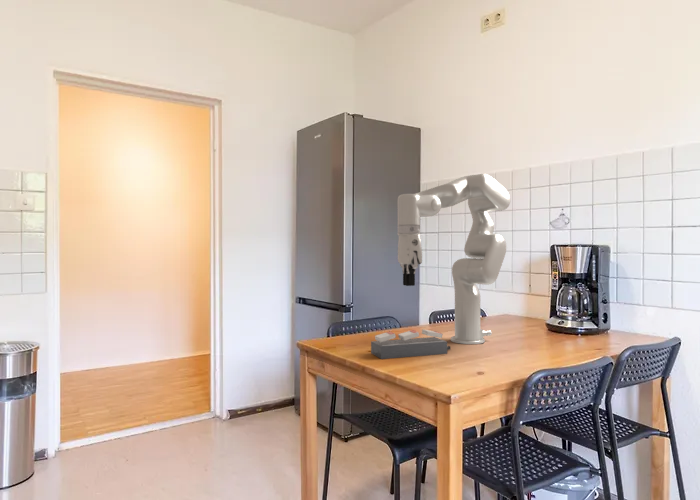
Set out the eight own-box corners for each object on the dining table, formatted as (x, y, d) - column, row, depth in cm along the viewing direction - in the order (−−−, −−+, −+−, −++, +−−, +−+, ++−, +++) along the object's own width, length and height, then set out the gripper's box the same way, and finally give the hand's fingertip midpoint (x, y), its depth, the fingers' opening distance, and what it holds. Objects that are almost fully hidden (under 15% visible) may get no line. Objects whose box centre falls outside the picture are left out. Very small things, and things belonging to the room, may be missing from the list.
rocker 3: (435, 335, 170) (436, 331, 170) (441, 337, 166) (442, 333, 166) (421, 333, 168) (422, 328, 168) (427, 335, 164) (428, 331, 164)
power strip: (443, 347, 173) (443, 335, 173) (456, 352, 165) (456, 340, 165) (371, 353, 165) (371, 340, 165) (381, 359, 156) (380, 345, 156)
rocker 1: (390, 335, 164) (389, 330, 164) (395, 337, 160) (394, 333, 160) (375, 339, 163) (374, 335, 163) (380, 342, 159) (379, 337, 158)
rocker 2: (413, 333, 167) (412, 329, 167) (419, 336, 163) (418, 331, 163) (398, 338, 165) (398, 333, 165) (404, 340, 161) (403, 336, 161)
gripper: (429, 230, 158) (429, 287, 158) (409, 231, 172) (409, 283, 173) (408, 230, 155) (408, 287, 155) (389, 231, 170) (389, 284, 170)
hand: (408, 285), depth 164 cm, fingers closed
